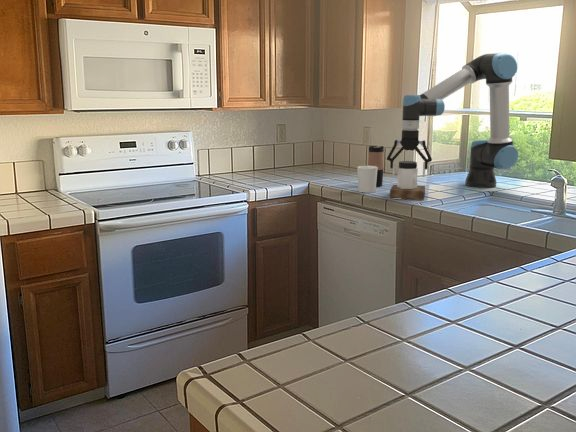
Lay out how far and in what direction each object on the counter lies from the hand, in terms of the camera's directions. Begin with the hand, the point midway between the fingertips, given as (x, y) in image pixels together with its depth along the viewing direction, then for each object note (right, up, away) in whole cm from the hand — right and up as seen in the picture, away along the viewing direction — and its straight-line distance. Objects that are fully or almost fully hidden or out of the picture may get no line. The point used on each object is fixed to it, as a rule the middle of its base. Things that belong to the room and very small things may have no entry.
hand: (408, 176), depth 273 cm
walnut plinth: (0, -9, +2) cm, 9 cm away
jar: (0, -5, +1) cm, 6 cm away
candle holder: (-17, -7, +15) cm, 24 cm away
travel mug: (-11, -3, +30) cm, 32 cm away
